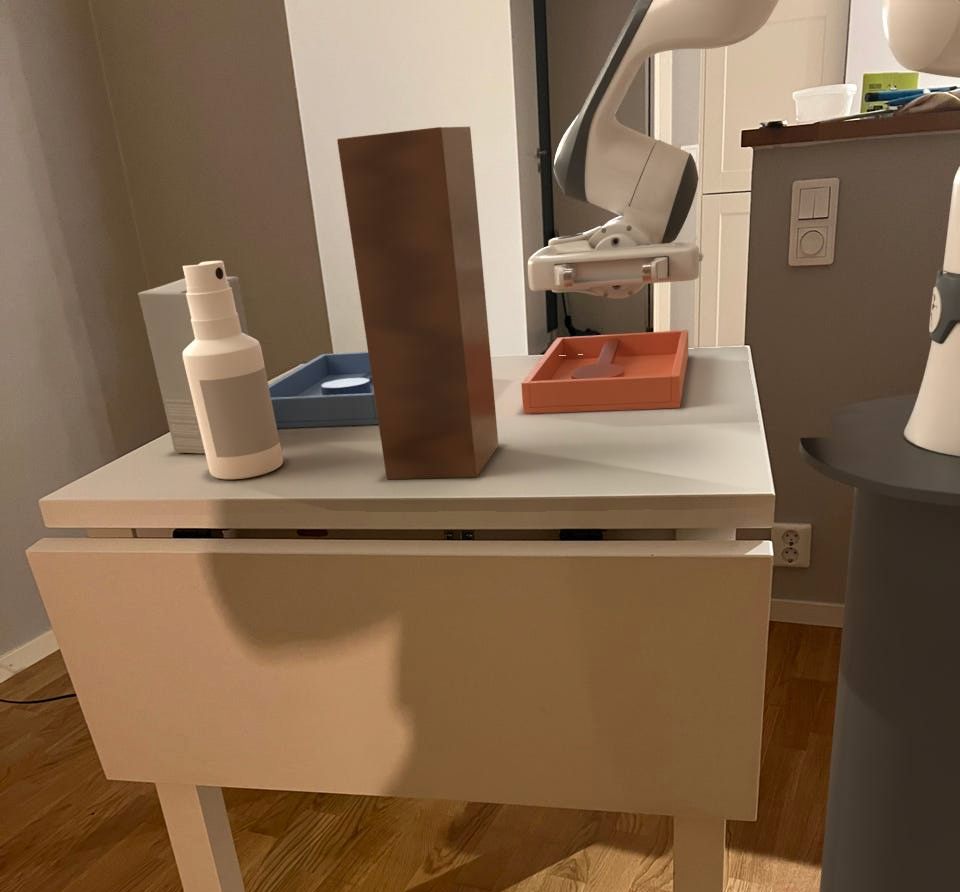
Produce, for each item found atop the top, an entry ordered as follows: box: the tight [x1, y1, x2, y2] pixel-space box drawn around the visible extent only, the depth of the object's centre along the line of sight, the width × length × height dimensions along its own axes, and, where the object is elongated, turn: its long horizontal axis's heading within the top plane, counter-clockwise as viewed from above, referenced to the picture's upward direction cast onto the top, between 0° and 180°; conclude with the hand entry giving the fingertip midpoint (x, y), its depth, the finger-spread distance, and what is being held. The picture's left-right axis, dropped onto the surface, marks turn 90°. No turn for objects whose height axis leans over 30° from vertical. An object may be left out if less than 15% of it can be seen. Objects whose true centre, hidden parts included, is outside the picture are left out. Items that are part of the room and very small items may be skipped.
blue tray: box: [268, 351, 379, 429], centre depth 110 cm, size 16×24×3 cm, turn 167°
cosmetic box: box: [137, 276, 250, 454], centre depth 95 cm, size 8×7×16 cm
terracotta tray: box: [520, 329, 689, 415], centre depth 105 cm, size 16×24×3 cm, turn 167°
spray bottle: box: [182, 260, 284, 480], centre depth 85 cm, size 7×7×18 cm
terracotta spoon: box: [571, 339, 625, 379], centre depth 106 cm, size 6×18×2 cm, turn 167°
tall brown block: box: [336, 125, 499, 480], centre depth 79 cm, size 8×9×26 cm
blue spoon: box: [321, 372, 372, 395], centre depth 115 cm, size 6×18×2 cm, turn 167°
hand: (606, 276), depth 108 cm, fingers open, 8 cm apart
